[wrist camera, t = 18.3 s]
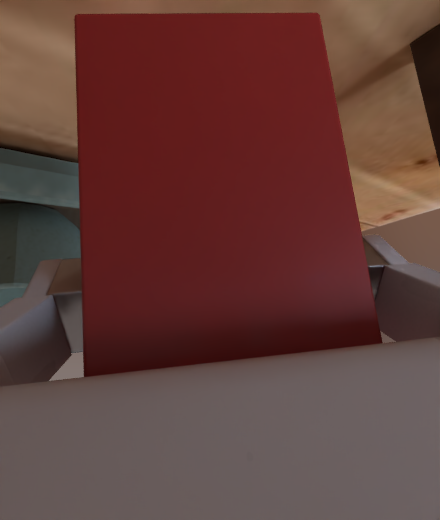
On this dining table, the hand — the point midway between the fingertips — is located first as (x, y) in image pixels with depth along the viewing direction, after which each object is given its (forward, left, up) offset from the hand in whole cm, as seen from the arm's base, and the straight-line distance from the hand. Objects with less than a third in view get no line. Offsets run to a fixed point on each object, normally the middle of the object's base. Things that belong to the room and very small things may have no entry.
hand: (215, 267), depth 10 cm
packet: (-1, 0, -6) cm, 6 cm away
